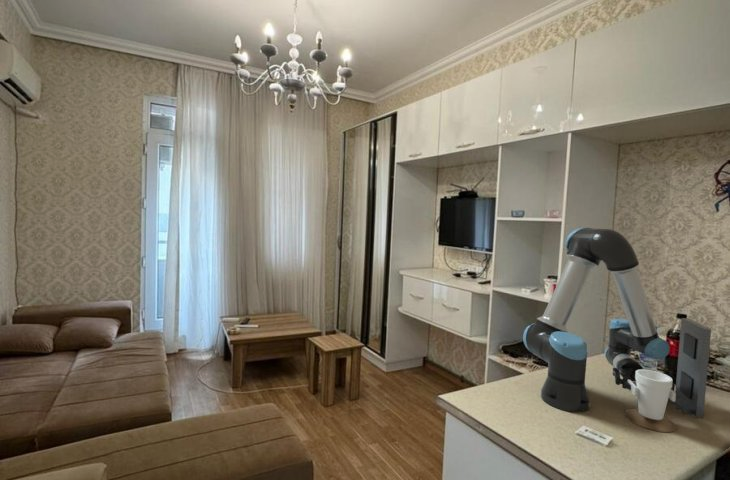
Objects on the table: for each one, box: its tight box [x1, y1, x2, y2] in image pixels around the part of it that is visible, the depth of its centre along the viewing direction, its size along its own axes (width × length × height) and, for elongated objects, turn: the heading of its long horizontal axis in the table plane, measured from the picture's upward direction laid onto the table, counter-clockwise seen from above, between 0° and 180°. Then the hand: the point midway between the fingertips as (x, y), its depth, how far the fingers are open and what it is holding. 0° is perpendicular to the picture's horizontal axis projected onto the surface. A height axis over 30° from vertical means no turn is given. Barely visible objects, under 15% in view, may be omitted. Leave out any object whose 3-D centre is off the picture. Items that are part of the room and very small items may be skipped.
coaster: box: [625, 408, 677, 433], centre depth 121 cm, size 13×13×1 cm
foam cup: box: [635, 368, 673, 420], centre depth 121 cm, size 10×9×13 cm
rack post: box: [668, 317, 712, 419], centre depth 130 cm, size 5×14×30 cm, turn 163°
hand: (655, 394), depth 119 cm, fingers closed on foam cup, 9 cm apart
